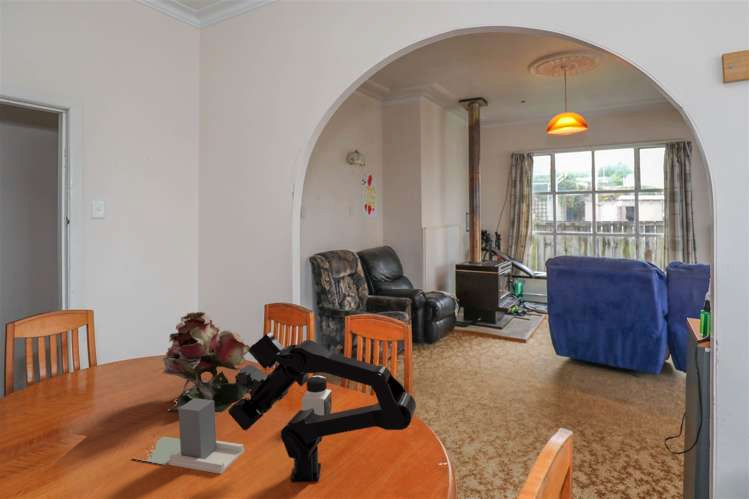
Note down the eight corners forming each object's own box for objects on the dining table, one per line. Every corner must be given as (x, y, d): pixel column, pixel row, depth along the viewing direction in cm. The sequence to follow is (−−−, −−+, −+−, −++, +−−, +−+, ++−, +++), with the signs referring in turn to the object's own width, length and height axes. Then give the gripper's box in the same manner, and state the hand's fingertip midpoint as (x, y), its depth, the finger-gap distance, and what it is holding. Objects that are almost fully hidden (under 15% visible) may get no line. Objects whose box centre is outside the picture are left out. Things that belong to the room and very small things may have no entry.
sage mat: (194, 442, 115) (194, 441, 115) (164, 465, 105) (164, 464, 105) (163, 437, 118) (163, 436, 118) (131, 459, 108) (131, 458, 108)
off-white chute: (244, 451, 111) (244, 443, 111) (221, 473, 101) (220, 465, 101) (196, 443, 115) (195, 436, 115) (169, 464, 105) (168, 457, 105)
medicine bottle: (324, 422, 125) (323, 383, 124) (302, 420, 127) (301, 381, 126) (332, 411, 132) (331, 374, 131) (310, 409, 134) (309, 372, 133)
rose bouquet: (260, 384, 154) (256, 304, 151) (208, 423, 126) (203, 325, 123) (200, 378, 161) (196, 301, 158) (138, 413, 133) (132, 320, 130)
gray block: (216, 448, 111) (214, 400, 109) (201, 461, 105) (198, 411, 104) (197, 445, 112) (194, 398, 111) (181, 457, 106) (178, 408, 105)
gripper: (275, 345, 110) (240, 382, 114) (233, 370, 92) (194, 414, 96) (304, 376, 109) (268, 413, 113) (267, 409, 91) (225, 451, 95)
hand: (240, 421), depth 104 cm, fingers closed
